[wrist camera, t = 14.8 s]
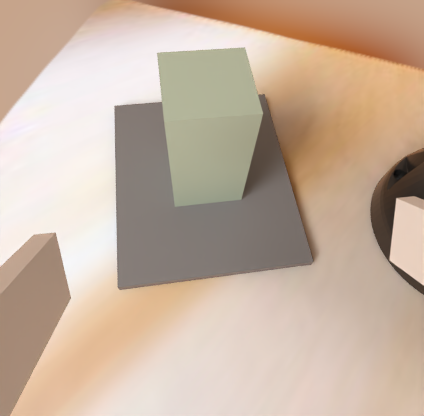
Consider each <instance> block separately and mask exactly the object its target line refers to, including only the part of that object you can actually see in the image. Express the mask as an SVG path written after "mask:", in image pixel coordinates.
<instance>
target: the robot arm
mask: <svg viewBox="0 0 424 416" xmlns="http://www.w3.org/2000/svg"><path fill="white" fill-rule="evenodd" d="M371 222H372V227H373V231H374V234H375V237H376V239H377V242H378V244H379V246H380V248H381V250H382V252H383V253H384V255H385V256H386V258H387V259H388V261H389V262H390V264H391V265H392V266H393V267H394V269H395V270H396V271H397V272H398V273H399V274H400V275H401V276H402V277H403V278H404V279H405V280H406V281H407V282H408V283H409V284H410V285H412V286H413V287H414V288H415V289H417V290H418V291H420V292H421V293H422V294H424V148H422V149H420V150H418V151H416V152H413V153H411V154H409V155H407V156H406V157H404V158H403V159H401V160H400V161H399V162H397V163H396V164H395V165H394V166H393V167H392V168H391V169H390V170H389V171H388V172H387V173H386V174H385V176H384V177H383V178H382V179H381V180H380V181H379V183H378V185H377V186H376V188H375V190H374V193H373V196H372V201H371ZM70 299H71V297H70V292H69V288H68V284H67V279H66V275H65V271H64V267H63V262H62V258H61V254H60V249H59V245H58V241H57V237H56V233H47V234H38V235H33V236H32V237H31V238H30V239H29V240H28V241H27V242H26V243H25V244H24V245H23V246H22V247H21V248H20V249H19V250H17V251H16V252H15V253H14V254H13V255H12V256H11V257H10V258H9V259H8V260H7V261H6V262H5V263H4V264H3V265H2V266H1V267H0V416H10V414H11V412H12V411H13V409H14V407H15V405H16V403H17V401H18V399H19V397H20V395H21V393H22V391H23V389H24V387H25V385H26V384H27V382H28V380H29V378H30V376H31V374H32V372H33V370H34V368H35V366H36V364H37V362H38V360H39V358H40V357H41V355H42V353H43V351H44V349H45V347H46V345H47V343H48V341H49V339H50V337H51V335H52V333H53V331H54V330H55V328H56V326H57V324H58V322H59V320H60V318H61V316H62V314H63V312H64V310H65V308H66V306H67V304H68V303H69V301H70Z"/></svg>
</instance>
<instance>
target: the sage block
mask: <svg viewBox="0 0 424 416" xmlns="http://www.w3.org/2000/svg"><path fill="white" fill-rule="evenodd" d="M157 55H158V65H159V75H160V85H161V95H162V105H163V115H164V125H165V132H166V140H167V148H168V156H169V164H170V172H171V180H172V187H173V195H174V203H175V207H178V206H187V205H196V204H206V203H215V202H225V201H234V200H241V199H242V195H243V191H244V187H245V183H246V179H247V175H248V172H249V168H250V164H251V160H252V156H253V152H254V148H255V144H256V140H257V136H258V132H259V128H260V124H261V120H262V116H263V111H262V108H261V104H260V100H259V97H258V93H257V90H256V86H255V82H254V79H253V75H252V71H251V68H250V64H249V61H248V57H247V53H246V50H245V48H230V49H213V50H196V51H179V52H162V53H157Z"/></svg>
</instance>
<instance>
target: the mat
mask: <svg viewBox="0 0 424 416" xmlns="http://www.w3.org/2000/svg"><path fill="white" fill-rule="evenodd" d="M258 97H259V100H260V104H261V108H262V111H263V116H262V120H261V124H260V128H259V132H258V136H257V140H256V144H255V148H254V152H253V156H252V160H251V164H250V168H249V172H248V175H247V179H246V183H245V187H244V191H243V195H242V199H241V200H234V201H225V202H215V203H206V204H196V205H187V206H178V207H175V203H174V195H173V187H172V180H171V172H170V164H169V156H168V148H167V140H166V132H165V125H164V115H163V105H162V102H159V103H146V104H133V105H120V106H115V160H116V216H117V272H118V288H119V289H120V290H122V289H130V288H137V287H145V286H152V285H160V284H167V283H175V282H183V281H190V280H198V279H205V278H213V277H220V276H228V275H235V274H243V273H250V272H258V271H265V270H273V269H280V268H288V267H295V266H303V265H311V264H312V263H313V258H312V255H311V252H310V248H309V245H308V241H307V238H306V234H305V231H304V228H303V224H302V221H301V217H300V214H299V211H298V207H297V204H296V200H295V197H294V193H293V190H292V187H291V183H290V180H289V176H288V173H287V170H286V166H285V163H284V159H283V156H282V152H281V149H280V146H279V142H278V139H277V135H276V132H275V129H274V125H273V122H272V118H271V115H270V111H269V108H268V105H267V101H266V98H265V94H263V95H258Z"/></svg>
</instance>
